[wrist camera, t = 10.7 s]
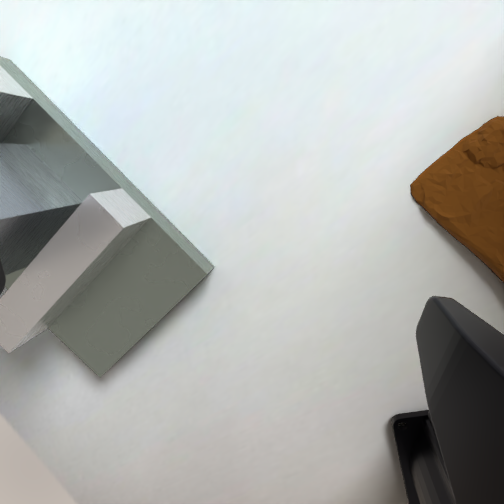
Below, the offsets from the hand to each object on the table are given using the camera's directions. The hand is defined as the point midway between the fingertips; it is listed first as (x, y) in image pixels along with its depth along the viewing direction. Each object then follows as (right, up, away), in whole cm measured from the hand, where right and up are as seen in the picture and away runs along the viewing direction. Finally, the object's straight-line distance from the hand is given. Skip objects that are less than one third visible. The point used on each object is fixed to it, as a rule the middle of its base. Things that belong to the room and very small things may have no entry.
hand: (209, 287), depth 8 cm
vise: (-11, +3, +14) cm, 18 cm away
